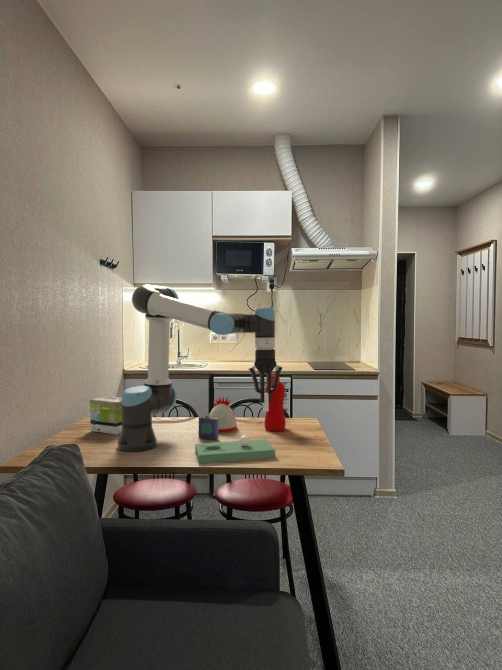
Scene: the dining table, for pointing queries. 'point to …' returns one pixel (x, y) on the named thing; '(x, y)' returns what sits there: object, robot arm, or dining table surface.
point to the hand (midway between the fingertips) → (265, 410)
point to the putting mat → (233, 451)
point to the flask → (208, 428)
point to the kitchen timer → (224, 416)
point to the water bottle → (275, 408)
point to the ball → (244, 440)
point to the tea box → (106, 415)
